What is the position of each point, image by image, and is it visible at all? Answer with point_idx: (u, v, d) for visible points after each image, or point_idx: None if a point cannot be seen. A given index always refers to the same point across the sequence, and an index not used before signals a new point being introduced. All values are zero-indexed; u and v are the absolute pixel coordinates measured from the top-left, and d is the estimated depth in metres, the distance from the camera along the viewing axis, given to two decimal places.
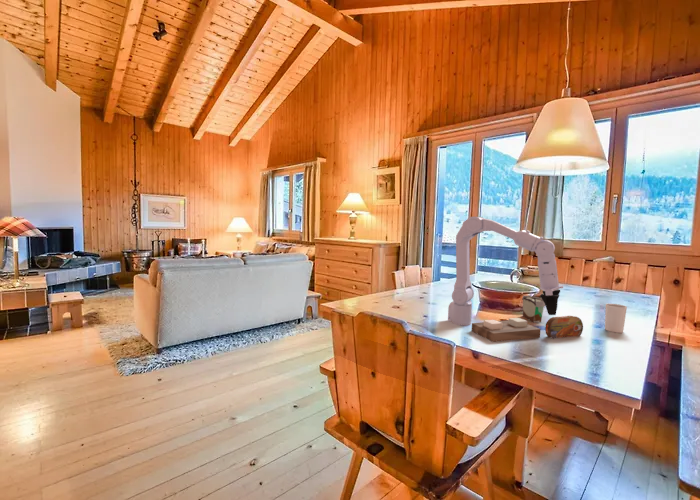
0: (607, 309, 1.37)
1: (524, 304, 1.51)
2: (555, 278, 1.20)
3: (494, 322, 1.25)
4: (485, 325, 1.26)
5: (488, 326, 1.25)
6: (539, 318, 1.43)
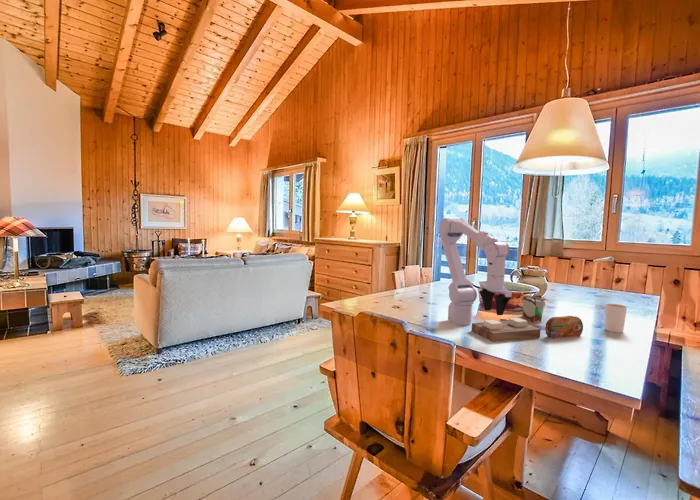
0: (607, 309, 1.37)
1: (524, 304, 1.51)
2: None
3: (494, 322, 1.25)
4: (485, 325, 1.26)
5: (488, 326, 1.25)
6: (539, 318, 1.43)
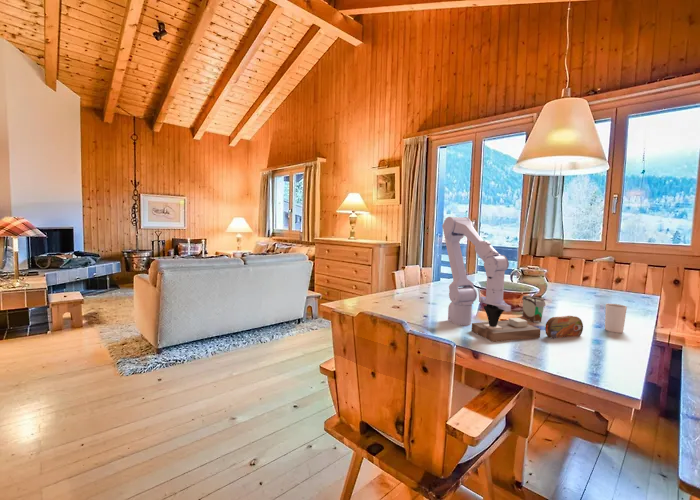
0: (607, 309, 1.37)
1: (524, 304, 1.51)
2: None
3: None
4: None
5: None
6: (539, 318, 1.43)
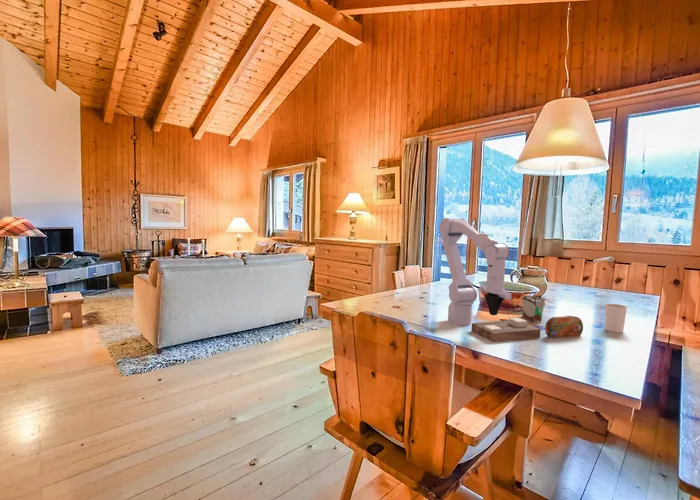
0: (607, 309, 1.37)
1: (524, 304, 1.51)
2: (503, 282, 1.23)
3: (494, 327, 1.25)
4: None
5: None
6: (539, 318, 1.43)
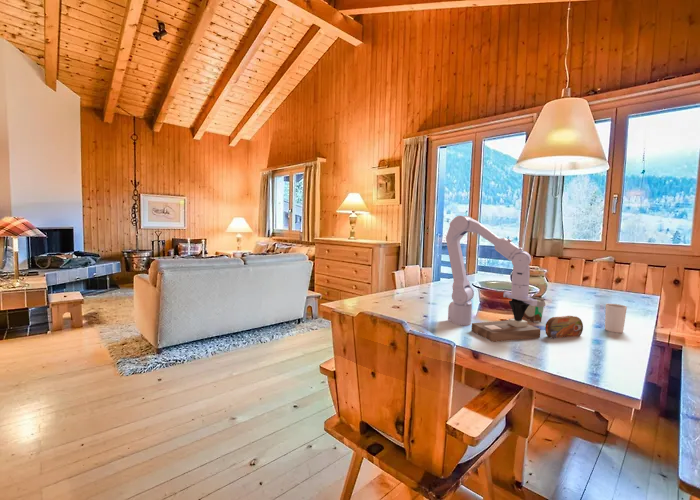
0: (607, 309, 1.37)
1: None
2: (528, 288, 1.27)
3: (494, 327, 1.25)
4: None
5: None
6: (539, 318, 1.43)
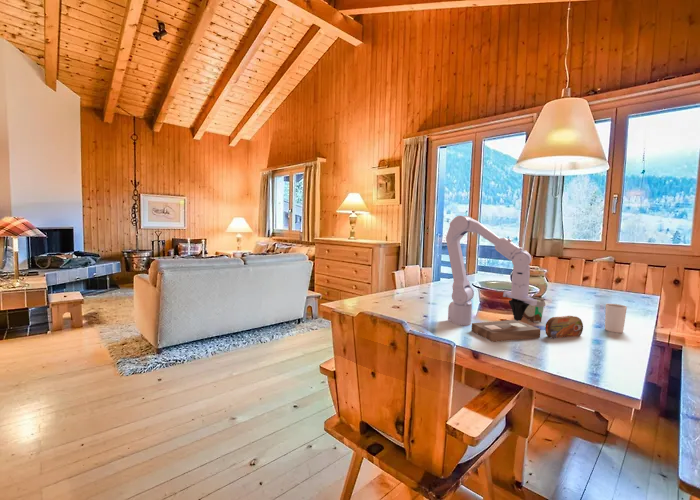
0: (607, 309, 1.37)
1: None
2: (528, 288, 1.27)
3: (494, 327, 1.25)
4: None
5: None
6: (539, 318, 1.43)
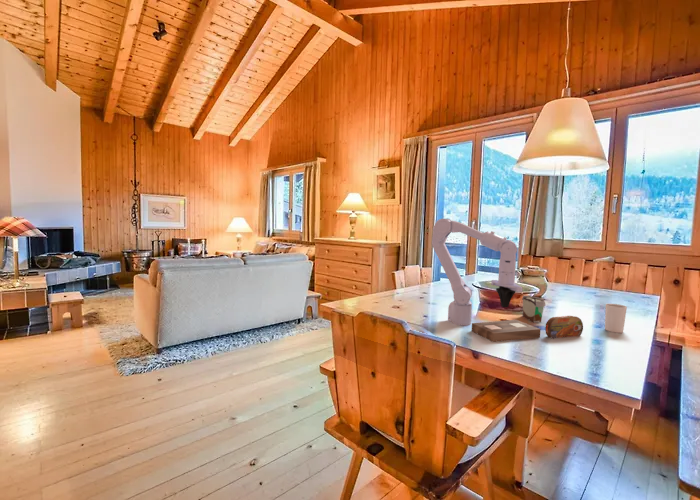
0: (607, 309, 1.37)
1: (524, 304, 1.51)
2: (514, 276, 1.32)
3: (494, 327, 1.25)
4: None
5: None
6: (539, 318, 1.43)
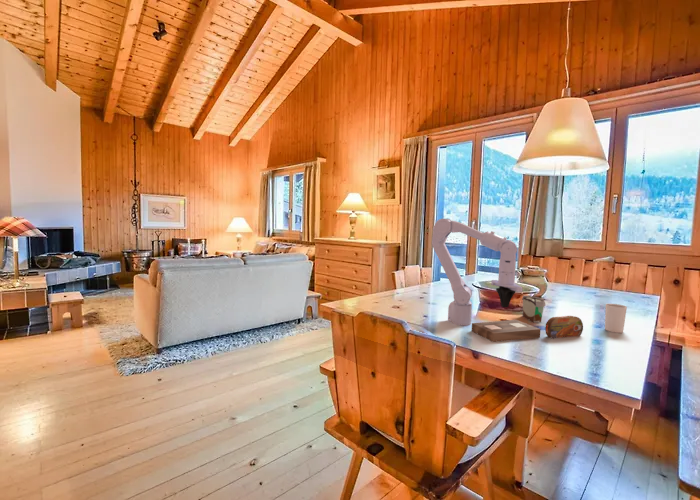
0: (607, 309, 1.37)
1: (524, 304, 1.51)
2: (514, 276, 1.32)
3: (494, 327, 1.25)
4: None
5: None
6: (539, 318, 1.43)
